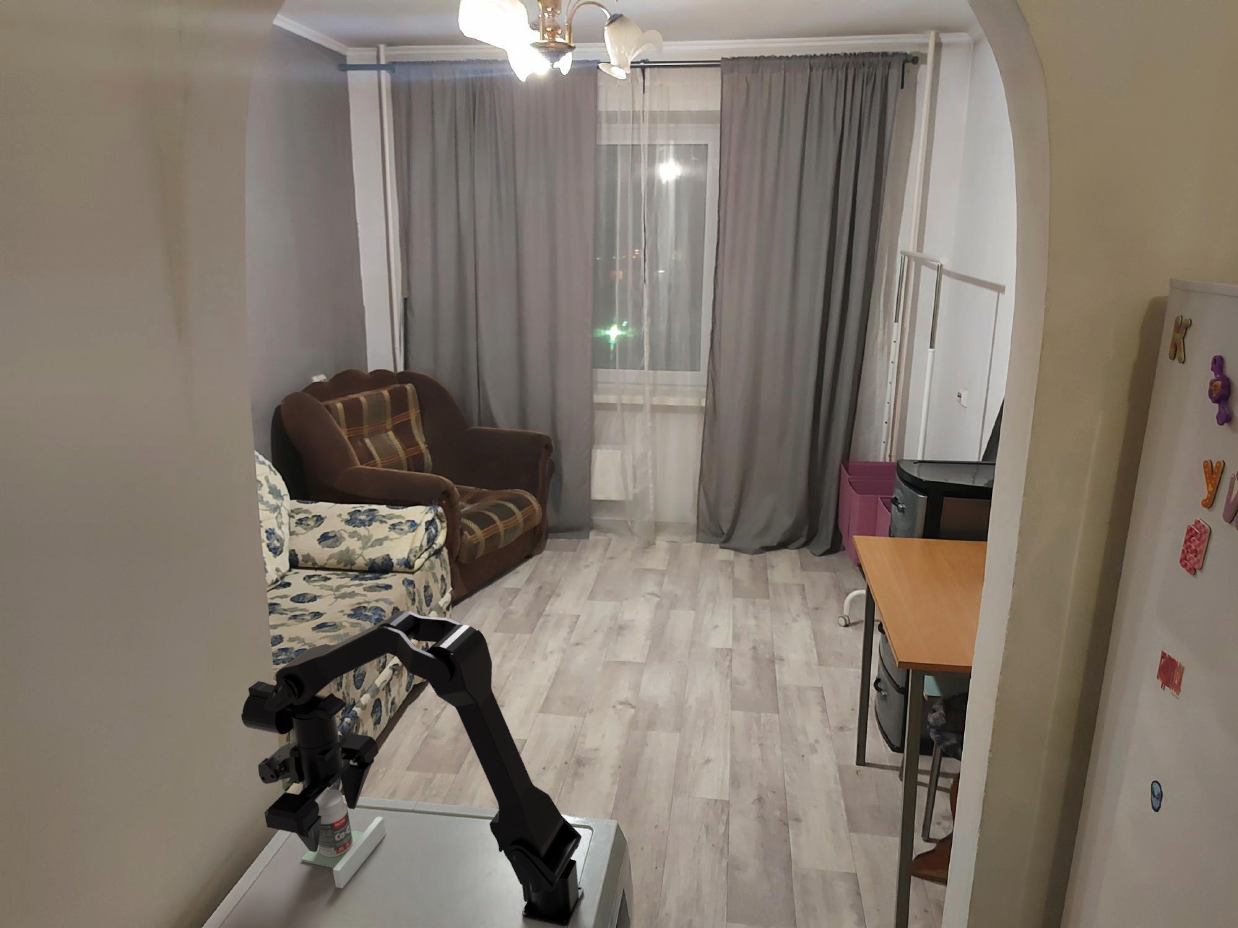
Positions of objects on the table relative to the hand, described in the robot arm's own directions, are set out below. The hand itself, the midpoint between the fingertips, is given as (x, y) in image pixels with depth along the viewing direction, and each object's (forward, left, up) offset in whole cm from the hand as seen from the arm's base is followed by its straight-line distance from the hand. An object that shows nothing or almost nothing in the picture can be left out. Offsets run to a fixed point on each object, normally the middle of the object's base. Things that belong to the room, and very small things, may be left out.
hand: (333, 828), depth 125 cm
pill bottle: (0, 0, -3) cm, 3 cm away
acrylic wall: (-5, +1, -4) cm, 6 cm away
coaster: (0, 0, -4) cm, 4 cm away
